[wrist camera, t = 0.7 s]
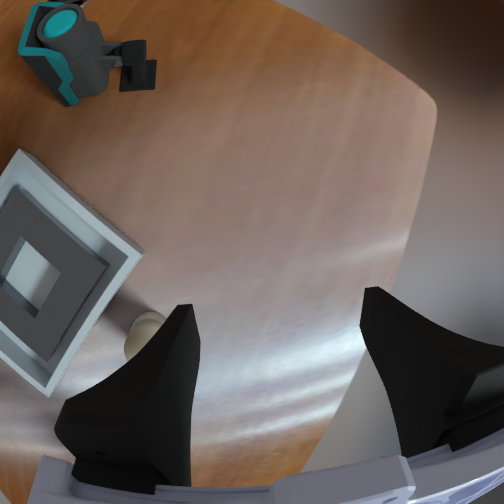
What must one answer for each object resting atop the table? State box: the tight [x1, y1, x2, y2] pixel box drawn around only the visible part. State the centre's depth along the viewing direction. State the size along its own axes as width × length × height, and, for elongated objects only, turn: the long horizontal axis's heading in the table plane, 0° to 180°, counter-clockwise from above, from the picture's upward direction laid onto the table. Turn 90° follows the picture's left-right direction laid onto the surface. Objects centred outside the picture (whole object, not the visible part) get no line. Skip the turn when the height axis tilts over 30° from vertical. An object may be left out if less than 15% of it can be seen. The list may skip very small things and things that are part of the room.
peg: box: [124, 311, 166, 361], centre depth 27 cm, size 4×4×6 cm
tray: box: [0, 149, 145, 398], centre depth 25 cm, size 18×16×4 cm
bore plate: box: [0, 188, 110, 362], centre depth 25 cm, size 12×12×2 cm
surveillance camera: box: [18, 2, 157, 107], centre depth 21 cm, size 6×12×10 cm
